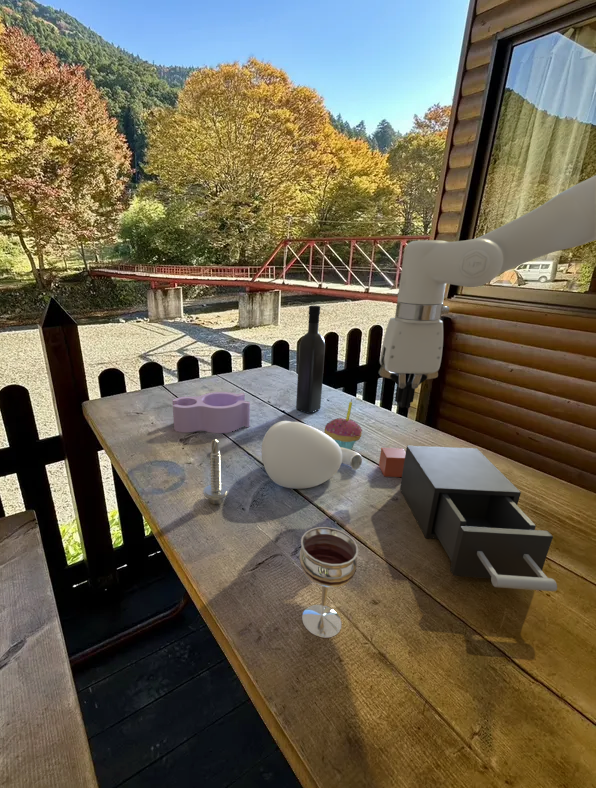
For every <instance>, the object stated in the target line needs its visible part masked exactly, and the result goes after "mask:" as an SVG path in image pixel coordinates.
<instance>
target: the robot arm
mask: <svg viewBox="0 0 596 788" xmlns="http://www.w3.org/2000/svg"><path fill="white" fill-rule="evenodd" d="M593 241H596V174H595V175H593V176H591V177H589V178H587V179H584V180H583V181H580V182H579V183H576V184H574V185H573V186H571V187H569V188H567V189H565V190H563V191H561V192H559V193H558V194H556V195H555V196H553V197H551V199H549V200H547V201H546V202H545V203H543V204H541V205H540V206H538V207H537V208H534V209H533V210H531V211H529V212H527V213H525V214H523V215H521V216H519V217H518V218H516V219H513V220H511V221H510V222H509V221H508V223H505V224H503V225H501V226H499V227H498V228H495V229H492V230H491V231H489V232H487V233H485V234H482V235H481V236H478V237H476V238H472V239H466V240H457V241H447V240H441V239H440V240H439V239H438V240H436V239H428V240H426V239H425V240H424V239H423V240H422V239H421V240H412V241H410V242H408V243H407V244H406V246H405V248H404V252H403V256H402V264H401V271H400V279H399V286H398V292H397V301H396V308H395V314H394V317H390V318H389V319H388V323H387V326H386V328H385V329H386V330H385V333H384V337H383V341H382V345H381V350H380V356H379V364H380V368H379V370H378V374H379V376H380V377H382V378H385V379H390V380H392V381H393V382H394V383H395V384H396V388H395V394H394V395H395V396H394V400H395V403H397V405H398V406H399V407H400V408H401V409H404V408H406V409H410V408H411V404H412V403H413V402H414V398H415V392H416V389H418V387H419V386H420V385H422V383H424V382H425V381H426V380H432V379H436V378H438V377H439V370H440V367H441V363H442V357H443V347H444V321H443V320H441V319H442V316H443V315H444V314H446V315H448V314H449V312H450V306H448V305H446V306H445V305H444V297H445V291H446V286H447V284H448V285H453V286H460V287H466V288H478V287H482V286H484V285H486V284H488V283H490V282H492V280H494V279H495V278H496V277H497V276H498V275H500V274H502V273H504V272H507V271H509V270H512V269H515V268H516V267H518V266H521V265H523V264H527V263H528V262H530V261H533V260H536V259H539V258H541V257H543V256H546V255H550V254H553V253H555V252H559V251H563V250H568V249H571V248H572V249H573V248H576V247H580V246H583V245H585V244H588V243H591V242H593ZM406 374H409V375H408V377H407V382H406Z"/></svg>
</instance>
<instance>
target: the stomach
mask: <svg viewBox="0 0 596 788" xmlns="http://www.w3.org/2000/svg"><path fill="white" fill-rule="evenodd" d="M260 449H261V450H260V452H261V453H260V454H261V459H262V463H263V467H264V469H265V472H266V474H267V475H268V477H269V478H270V480H272V482H274V483H275V484H276V485H278V486H280V487H282V488H287V489H295V490H296V489H298V490H301V489H309V488H313V487H317V486H319V485H321V484H324V483H326V482H327V481H329V480H330V479H332V478H333V477H334V476H335V475H336V473H338V471H339V469H341V465H342V464H343V465H346V466H349V467H351V469H352V470H354V471H357V470H359V469H360V468H361V466H362V465H363V458H362V455H361V454H360V453H359V452H357V451H354V450H353V449H351V450H350V449H346V448H342V447H339V445H338V444H337V443H336V442H335V441H334V440H333V439H332V438H331V437H329V436H328V435H326V434H325V433H324V432H323V431H322V430H320V429H318V428H316V427H314V426H311V425H309V424H306V423H304V422H299V421H290V420H280V421H278V422H276V423H274V424H273V425H271V426H270V427H269V429H267V431H266V433H265V434H264V437H263V440H262V443H261V448H260Z"/></svg>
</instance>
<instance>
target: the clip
mask: <svg viewBox="0 0 596 788" xmlns="http://www.w3.org/2000/svg"><path fill="white" fill-rule="evenodd" d="M172 417H173V418H172V419H173V429H174V431H175V432H178V433H194V432H207V433H210V434H211V433H212V434H229V433H233V432H236V431H238V430H240V429H242V428H243V427H242V426H245V427H244V428H246V427H248V428H250V427H249V426H251V425H250V424H251V402H250V401H247V400H246V394H245V393H243V392H240V393H235V392H229V391H214V392H212V391H211V392H208V393H204V394H202V395H197V396H179V397H176V398H174V399H172ZM239 428H240V429H239ZM237 429H238V430H237ZM235 430H236V431H235ZM232 431H233V432H232Z"/></svg>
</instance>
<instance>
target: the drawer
mask: <svg viewBox="0 0 596 788" xmlns="http://www.w3.org/2000/svg"><path fill="white" fill-rule="evenodd" d="M536 527H537V525H536V524H535V523H534V522H533V521H532V520H531V518H530V517H529V516H528V515H527V514H526V513H525V512H524V511H523V510H522V509H521V508H520V507H519V505H518V504H517V505H516V504H515V503H514V502H513V500H512V499H511V498H510V497H509V496H497V495H477V494H457V493H439V498H438V502H437V507H436V512H435V517H434V522H433V527H432V528H433V530H434V532H435V533H436V535H437V537H438V539H437V540H438V541H439V542H440V544H441V546H442V548H443V549H444V551H445V553H446V555H447V557H448V558H449V560H450V562H451V564H450V568H449V571H450V573H451V575H452V576H453V577H464V578H477V579H478V578H479V579H490V581H491V584H492V586H493V587H494V588H500V589H501V588H502V589H515V590H516V589H517V590H530V591H541V592H542V591H543V592H556V591H557V590H558V584H557V582H556V580H555V579H554V578H553V577H552V578H551V577H548V576H547V574H545V573H544V571H543V569H544V565H545V563H546V560H547V557H548V554H549V551H550V547H551V546H552V545H551V544H552V541H553V538H554V536H553V535H552V534H551V533H550V531H548V530H538V529H537V530H536Z"/></svg>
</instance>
